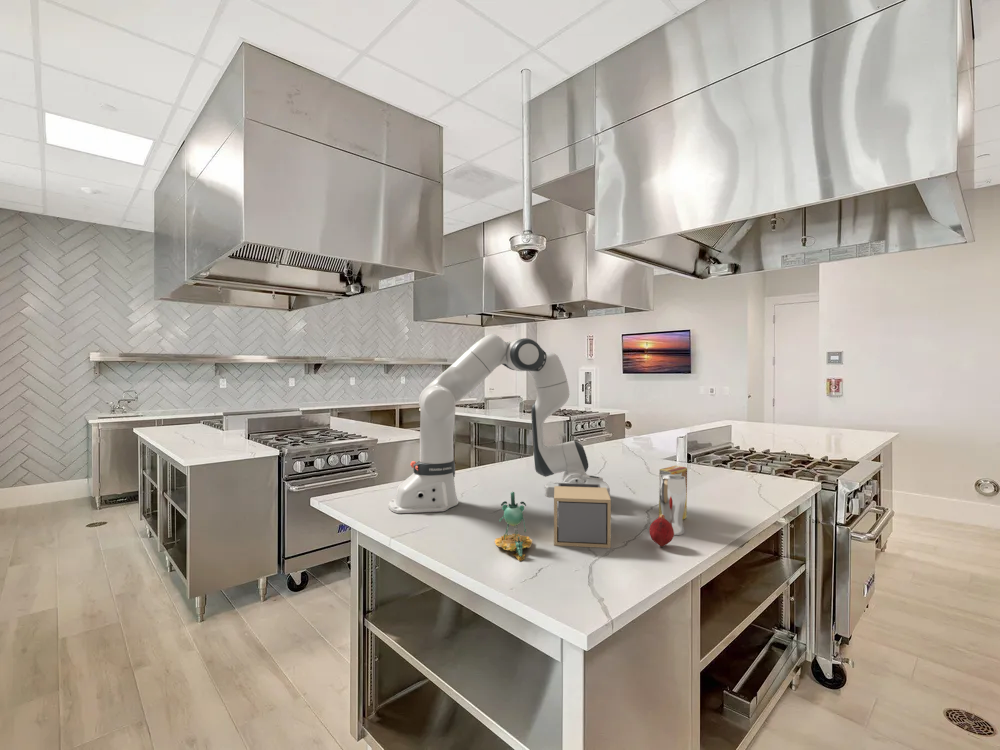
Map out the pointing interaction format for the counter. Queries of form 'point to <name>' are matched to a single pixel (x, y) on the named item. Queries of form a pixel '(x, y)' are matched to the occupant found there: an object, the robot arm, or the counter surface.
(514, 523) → the frog figurine
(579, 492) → the sleeve
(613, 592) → the counter surface
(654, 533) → the onion
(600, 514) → the grey open box
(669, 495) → the beer glass
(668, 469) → the candy box
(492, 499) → the counter surface
